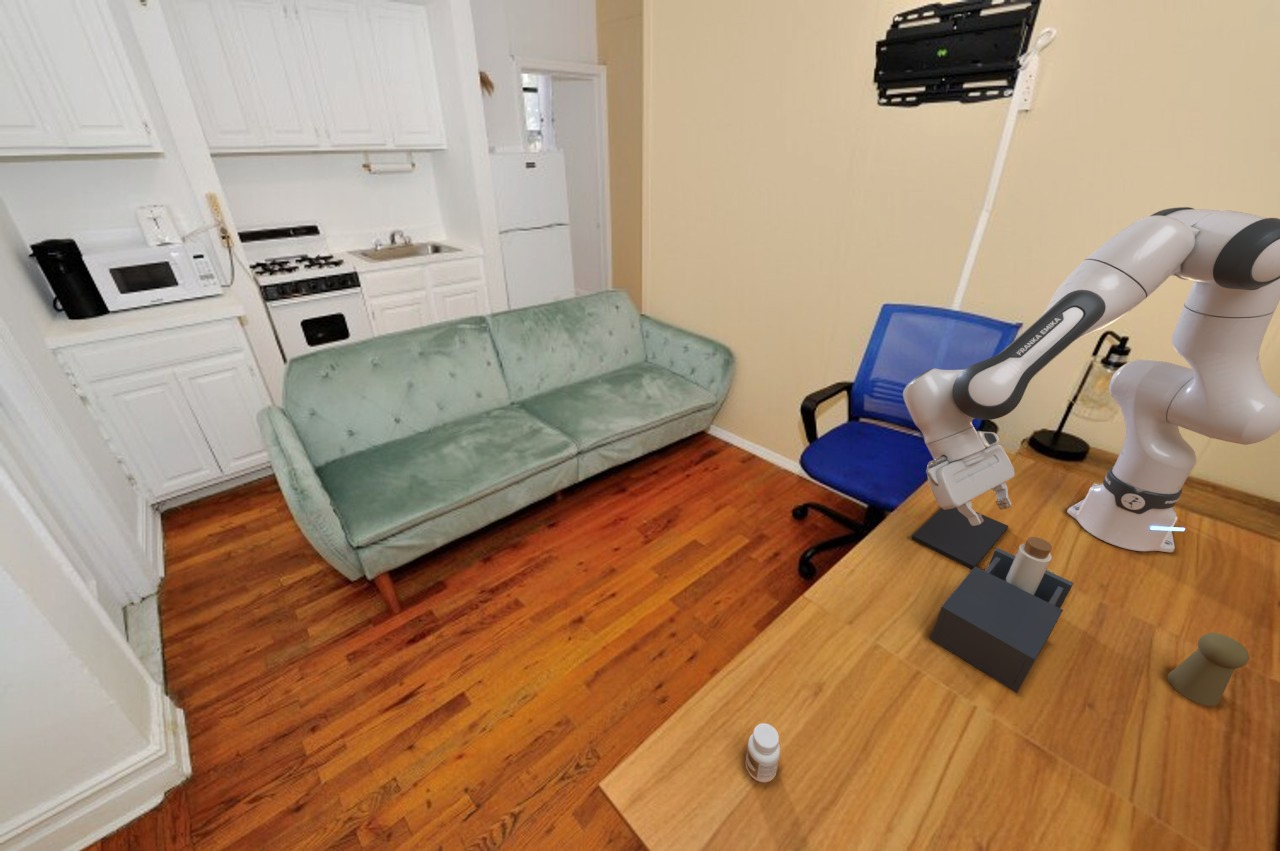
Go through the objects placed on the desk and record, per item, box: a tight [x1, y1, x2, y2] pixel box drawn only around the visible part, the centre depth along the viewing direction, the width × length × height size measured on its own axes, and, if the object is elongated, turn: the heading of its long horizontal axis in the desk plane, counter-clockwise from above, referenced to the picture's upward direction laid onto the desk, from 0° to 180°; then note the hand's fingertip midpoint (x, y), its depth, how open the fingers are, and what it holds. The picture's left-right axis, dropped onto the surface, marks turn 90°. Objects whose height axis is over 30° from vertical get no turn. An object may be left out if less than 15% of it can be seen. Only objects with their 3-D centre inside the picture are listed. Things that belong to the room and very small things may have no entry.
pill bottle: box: [745, 722, 781, 783], centre depth 71 cm, size 4×4×8 cm
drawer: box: [984, 547, 1074, 609], centre depth 96 cm, size 18×13×6 cm
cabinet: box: [929, 566, 1064, 694], centre depth 89 cm, size 15×14×8 cm
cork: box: [1167, 632, 1250, 707], centre depth 79 cm, size 6×6×11 cm
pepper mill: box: [1005, 536, 1053, 595], centre depth 93 cm, size 5×5×14 cm
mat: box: [910, 507, 1009, 570], centre depth 116 cm, size 20×13×1 cm, turn 130°
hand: (992, 515), depth 96 cm, fingers open, 8 cm apart
